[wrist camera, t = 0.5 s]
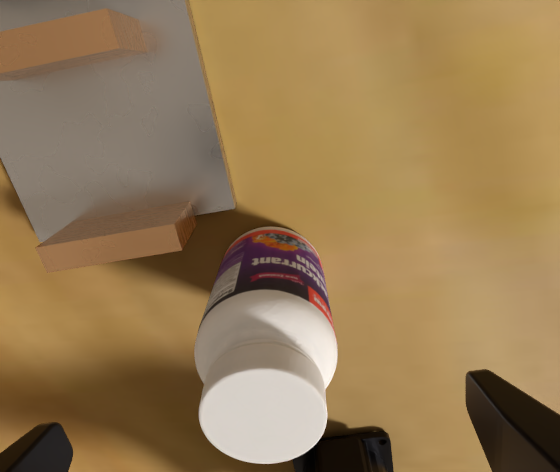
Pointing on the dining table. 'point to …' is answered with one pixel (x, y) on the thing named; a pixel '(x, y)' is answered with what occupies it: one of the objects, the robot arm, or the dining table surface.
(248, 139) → the dining table surface
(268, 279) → the pill bottle
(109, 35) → the grey block with slats
